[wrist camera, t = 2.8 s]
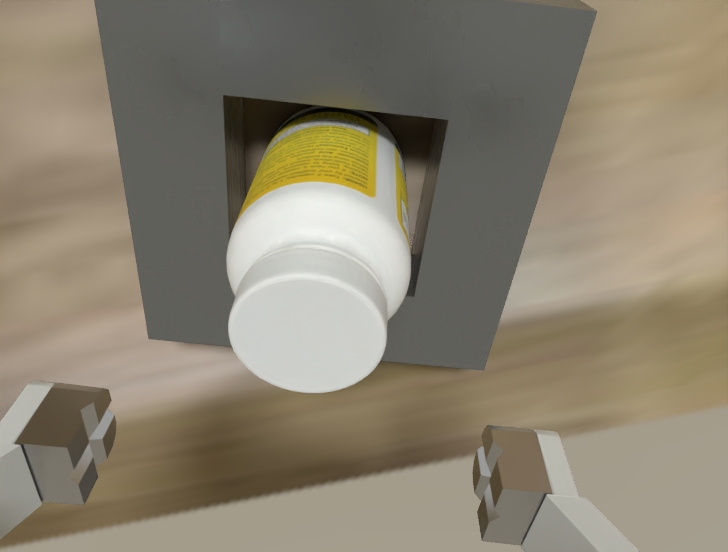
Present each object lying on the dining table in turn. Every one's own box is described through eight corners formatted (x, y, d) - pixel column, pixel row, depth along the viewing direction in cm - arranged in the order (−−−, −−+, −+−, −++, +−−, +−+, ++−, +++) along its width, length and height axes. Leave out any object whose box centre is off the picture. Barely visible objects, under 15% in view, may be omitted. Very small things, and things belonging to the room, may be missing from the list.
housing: (127, -60, 18) (86, -50, 15) (568, -7, 18) (597, 11, 16) (171, 294, 26) (148, 338, 23) (474, 324, 26) (483, 370, 24)
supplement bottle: (236, 161, 22) (152, 326, 14) (341, 68, 20) (312, 200, 12) (330, 251, 24) (304, 438, 16) (433, 178, 22) (461, 350, 14)
